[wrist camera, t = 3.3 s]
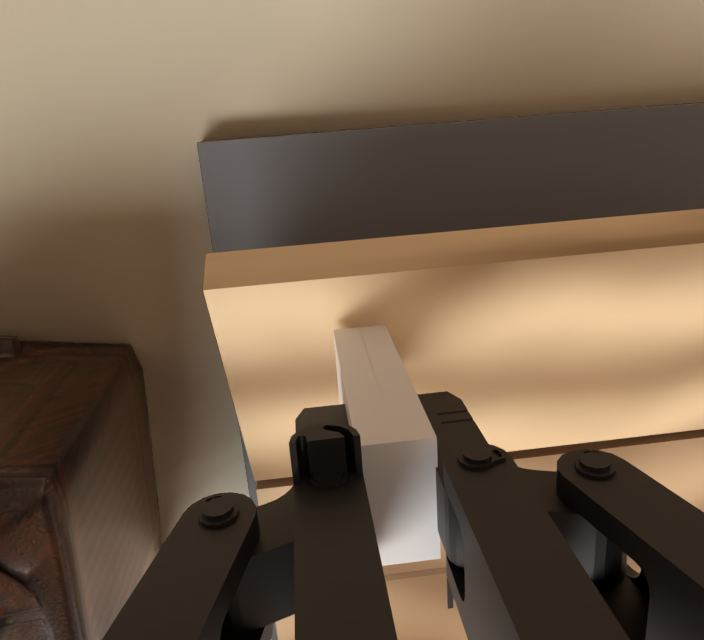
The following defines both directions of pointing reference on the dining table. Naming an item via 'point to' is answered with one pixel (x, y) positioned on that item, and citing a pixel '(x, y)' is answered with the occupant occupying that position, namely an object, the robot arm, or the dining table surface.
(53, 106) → the dining table surface
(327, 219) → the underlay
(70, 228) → the dining table surface
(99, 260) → the dining table surface
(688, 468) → the plank
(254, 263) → the plank
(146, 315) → the dining table surface
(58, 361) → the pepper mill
